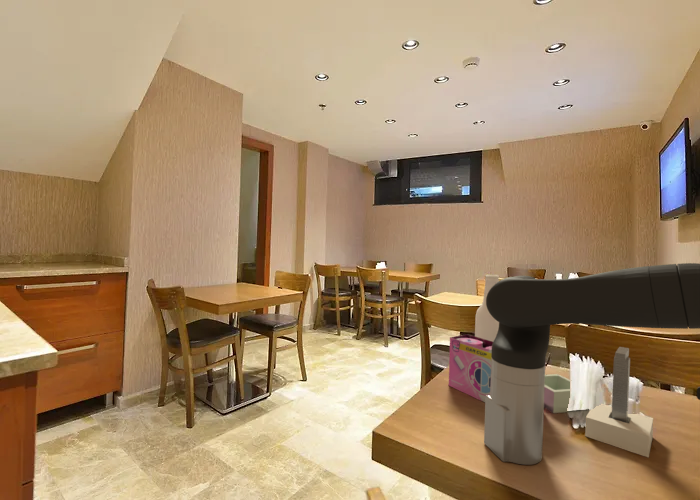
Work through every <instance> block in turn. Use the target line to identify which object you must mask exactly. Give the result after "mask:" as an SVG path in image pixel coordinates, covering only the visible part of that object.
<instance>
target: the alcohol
mask: <svg viewBox="0 0 700 500" xmlns="http://www.w3.org/2000/svg"><path fill="white" fill-rule="evenodd" d="M484 277H485V279H484V282H485V283H484V291H483V300H482V304H481V305H480V306H479V307H478V308H477V310H476V311H475V313H476V314H475V322H474V323H475V325H474V336H475V337H479V338H482V339H486V340H489V341H494V340H495V338H496V335H497V332H498V328H499V322H498V321H497V320H495V319H494V318H493V317H492V316H491V314H490V313H489V311H488V309H487V306H486V297H487V294H488V292H489V290H490V289H491V288H492V287H493V286H494V285H495V284H496V283H497V282H499V281H500V276H499V274H485V275H484Z"/></svg>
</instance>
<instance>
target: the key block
mask: <svg viewBox="0 0 700 500" xmlns="http://www.w3.org/2000/svg"><path fill="white" fill-rule="evenodd" d="M653 431H654V417H651V416H648V415H643V414H640V413H637V414H628V423H625V422H622V421H619V420H615V419H612V405H608V404H604V403H601V405H599V406H596V407H595V408H594V409H592V410H591V409H590V410H588V413H587V414H586V416H585V431H584V432H585V434H584V435H585V437H587V438H589V439H593V440H595V441H598V442H601V443H605V444H608V445H610V446H613V447H616V448H620V449H622V450H625V451H628V452H630V453H633V454H635V455H636V454H637V455H640V456H642V457H646V458H648V459H649V457H650V453H651V447H652V441H653V437H654V436H653Z"/></svg>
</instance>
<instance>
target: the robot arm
mask: <svg viewBox="0 0 700 500" xmlns="http://www.w3.org/2000/svg"><path fill="white" fill-rule="evenodd" d="M486 306H487V309H488V311H489V313H490V314H491V316H492V317H493V318H494V319H495V320H497V321H498V322H499V328H498V332H497V335H496V338H495V340H494V341H493V344H492V354H491V385H490V395H487V396H486V398H485V402H484V405H485V406H484V428H483V429H484V431H483V436H484V437H483V443H484V445H485V446H486V447H487V448H488V449H489V450H491V451H492V453H493V454H495V456H496V457H498V459H500V460H501V461H502V462H504V463H505V462H510V463H512V464H513V463H514V464H519V465H527V466H528V465H535V464H538V463H539V462H541V461H542V458H543V441H544V440H543V438H544V436H543V435H544V409H545V408H544V386H545V375H546V367H545V360H547V359H546V357H547V353H548V349H549V346H550V345H549V344H550V336H551V335H550V332H551V326H552V325H553V326H554V325H566V324H567V325H568V324H573V325H574V324H575V325H577V324H580V325H596V326H607V327H622V328H623V327H624V328H625V327H626V328H643V329H644V328H646V329H678V330H679V329H680V330H682V329H686V330H687V329H690V330H691V329H692V330H695V329H696V330H697V329H700V263H696V262H695V263H694V262H693V263H691V262H688V263H687V262H686V263H685V262H684V263H677V264H676V263H673V264H672V263H670V264H657V265H650V266H649V265H647V266H638V267H637V266H636V267H629V268H622V269H615V270H610V271H605V272H600V273H595V274H590V275H584V276H579V277H573V278H571V277H570V278H564V279H563V278H559V279H556V278H555V279H554V278H553V279H552V278H550V279H548V278H546V279H543V278H542V279H538V278H535V277H534V276H529V275H515V276H509V277H505V278H503V279H499V281H498V282H497V283H496V284H495V285H494V286H493V287H492V288H491V289H490V290H489V292H488V294H487V297H486ZM696 399H698V401H700V386H698V387H697V389H696Z"/></svg>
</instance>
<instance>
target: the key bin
mask: <svg viewBox="0 0 700 500" xmlns="http://www.w3.org/2000/svg"><path fill="white" fill-rule="evenodd" d="M570 380H571V379H570V378H567V377H565V376H564V375H560V374H559V373H553V374H552V373H551V374H545V386H544V409H546V410H547V411H549V412H551V413H552V414H557V413H558V414H560V413H568V412H567V408H568V404H569V398H570Z"/></svg>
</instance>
